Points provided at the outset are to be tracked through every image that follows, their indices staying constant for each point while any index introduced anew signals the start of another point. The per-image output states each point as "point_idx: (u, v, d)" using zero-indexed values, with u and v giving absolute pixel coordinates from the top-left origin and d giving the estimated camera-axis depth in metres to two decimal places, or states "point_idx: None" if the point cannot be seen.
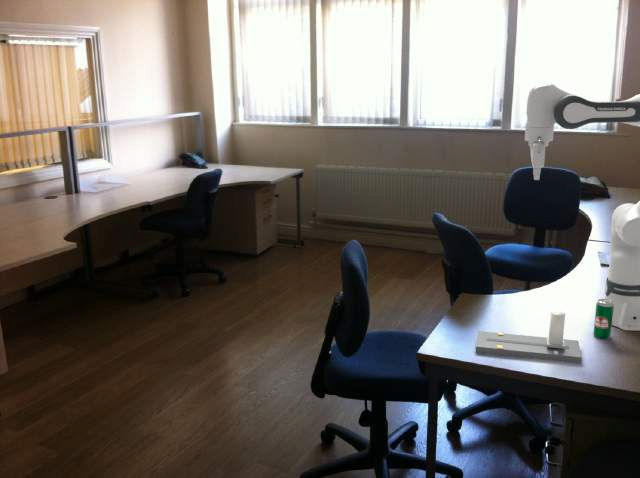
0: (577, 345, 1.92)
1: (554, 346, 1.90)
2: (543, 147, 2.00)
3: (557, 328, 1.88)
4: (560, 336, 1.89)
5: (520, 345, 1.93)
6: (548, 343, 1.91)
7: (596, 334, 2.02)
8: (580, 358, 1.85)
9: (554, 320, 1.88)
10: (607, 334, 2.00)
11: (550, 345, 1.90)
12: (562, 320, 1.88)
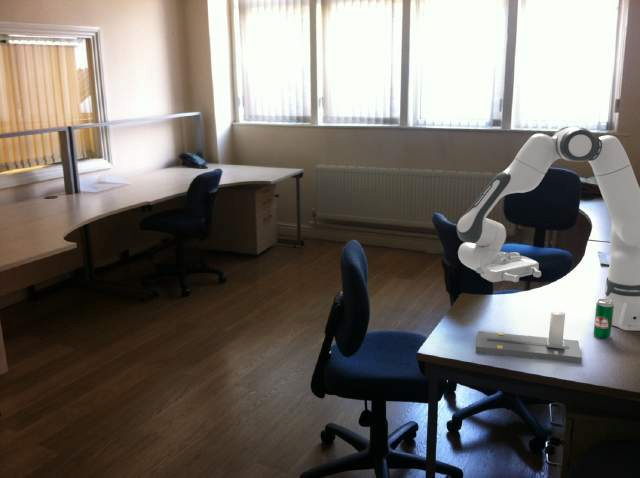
0: (577, 345, 1.92)
1: (554, 346, 1.90)
2: (481, 267, 2.02)
3: (557, 328, 1.88)
4: (560, 336, 1.89)
5: (520, 345, 1.93)
6: (548, 343, 1.91)
7: (596, 334, 2.02)
8: (580, 358, 1.85)
9: (554, 320, 1.88)
10: (607, 334, 2.00)
11: (550, 345, 1.90)
12: (562, 320, 1.88)
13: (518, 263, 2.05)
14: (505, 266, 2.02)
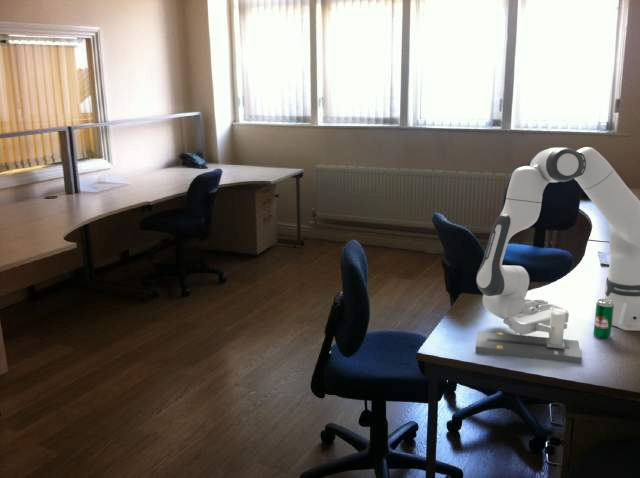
0: (577, 345, 1.92)
1: (554, 346, 1.90)
2: (509, 318, 1.95)
3: (557, 328, 1.88)
4: (560, 336, 1.89)
5: (520, 345, 1.93)
6: (548, 343, 1.91)
7: (596, 334, 2.02)
8: (580, 358, 1.85)
9: (554, 321, 1.88)
10: (607, 334, 2.00)
11: (550, 345, 1.90)
12: (562, 320, 1.88)
13: (547, 312, 1.97)
14: (534, 317, 1.94)
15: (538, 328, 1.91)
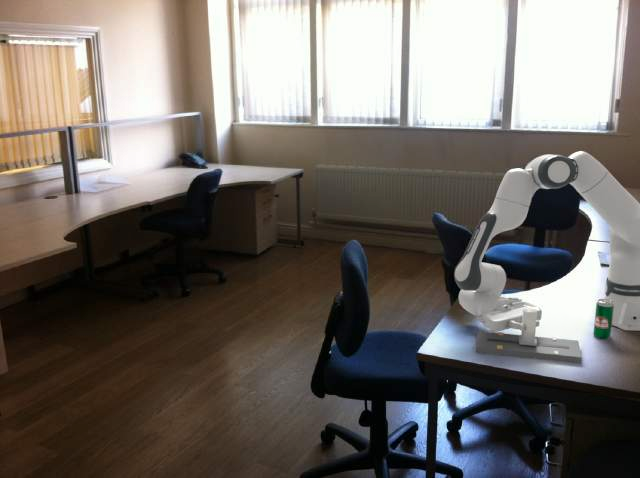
0: (577, 345, 1.92)
1: (526, 343, 1.92)
2: (482, 316, 1.97)
3: (529, 325, 1.91)
4: (532, 333, 1.91)
5: (520, 345, 1.93)
6: (520, 340, 1.93)
7: (596, 334, 2.02)
8: (580, 358, 1.85)
9: (526, 318, 1.91)
10: (607, 334, 2.00)
11: (522, 342, 1.92)
12: (534, 318, 1.90)
13: (521, 310, 2.00)
14: (507, 314, 1.96)
15: (510, 325, 1.93)
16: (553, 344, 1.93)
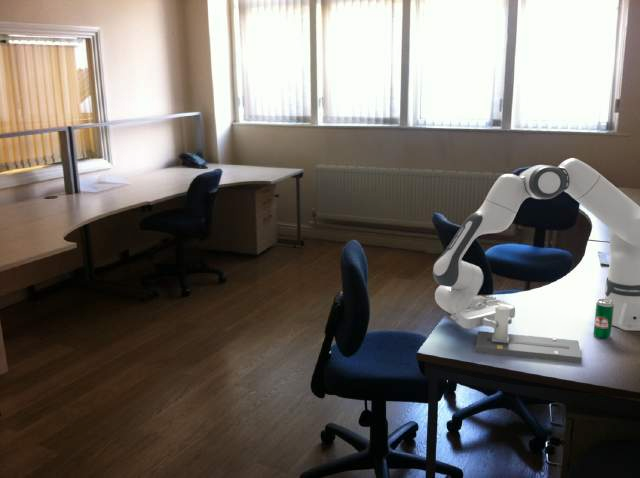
0: (577, 345, 1.92)
1: (499, 340, 1.94)
2: (456, 313, 1.99)
3: (501, 322, 1.93)
4: (504, 331, 1.94)
5: (520, 345, 1.93)
6: (493, 338, 1.95)
7: (596, 334, 2.02)
8: (580, 358, 1.85)
9: (498, 316, 1.93)
10: (607, 334, 2.00)
11: (495, 340, 1.94)
12: (506, 315, 1.92)
13: (494, 308, 2.02)
14: (480, 312, 1.99)
15: (483, 323, 1.95)
16: (553, 344, 1.93)
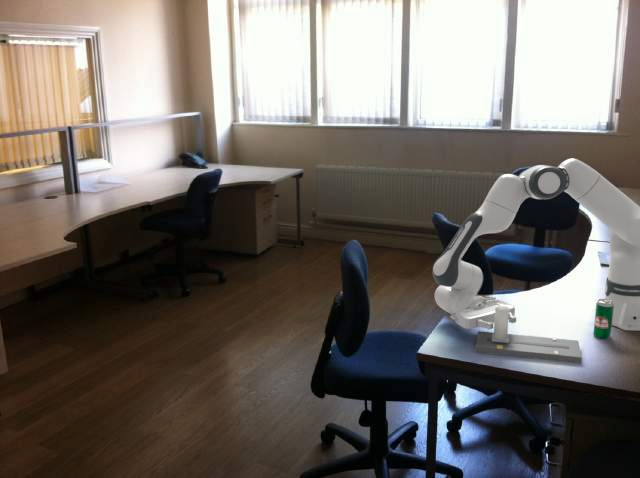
0: (577, 345, 1.92)
1: (498, 340, 1.94)
2: (456, 314, 1.99)
3: (501, 322, 1.93)
4: (504, 331, 1.94)
5: (520, 345, 1.93)
6: (493, 338, 1.95)
7: (596, 334, 2.02)
8: (580, 358, 1.85)
9: (498, 316, 1.93)
10: (607, 334, 2.00)
11: (495, 339, 1.94)
12: (506, 315, 1.92)
13: (494, 308, 2.02)
14: (480, 312, 1.99)
15: (478, 324, 1.95)
16: (553, 344, 1.93)
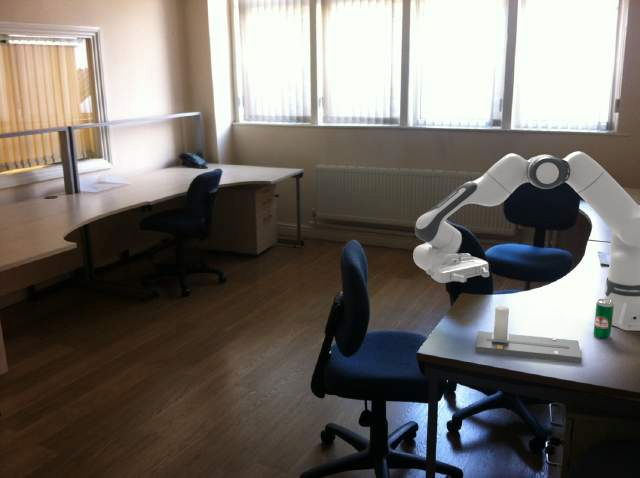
0: (577, 345, 1.92)
1: (498, 340, 1.94)
2: (431, 269, 2.07)
3: (501, 322, 1.93)
4: (504, 331, 1.94)
5: (520, 345, 1.93)
6: (493, 338, 1.95)
7: (596, 334, 2.02)
8: (580, 358, 1.85)
9: (498, 316, 1.93)
10: (607, 334, 2.00)
11: (495, 339, 1.94)
12: (506, 315, 1.92)
13: (468, 263, 2.10)
14: (454, 267, 2.07)
15: (452, 278, 2.03)
16: (553, 344, 1.93)
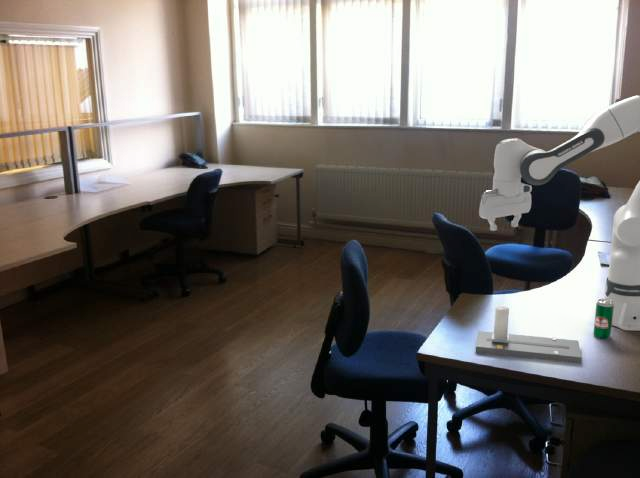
0: (577, 345, 1.92)
1: (498, 340, 1.94)
2: (487, 200, 2.06)
3: (501, 322, 1.93)
4: (504, 331, 1.94)
5: (520, 345, 1.93)
6: (493, 338, 1.95)
7: (596, 334, 2.02)
8: (580, 358, 1.85)
9: (498, 316, 1.93)
10: (607, 334, 2.00)
11: (495, 339, 1.94)
12: (506, 315, 1.92)
13: (517, 205, 2.12)
14: (502, 209, 2.09)
15: (489, 219, 2.10)
16: (553, 344, 1.93)
